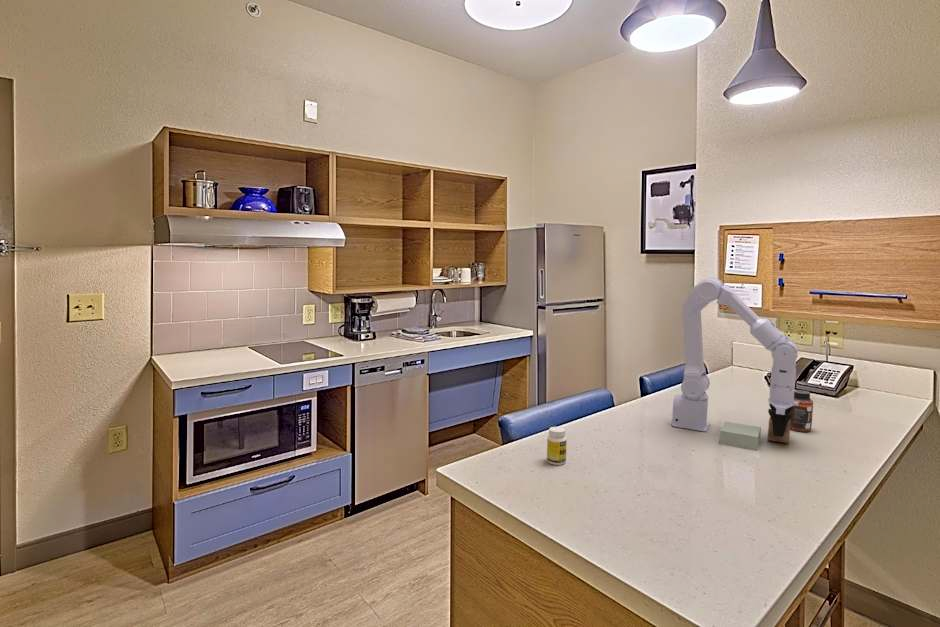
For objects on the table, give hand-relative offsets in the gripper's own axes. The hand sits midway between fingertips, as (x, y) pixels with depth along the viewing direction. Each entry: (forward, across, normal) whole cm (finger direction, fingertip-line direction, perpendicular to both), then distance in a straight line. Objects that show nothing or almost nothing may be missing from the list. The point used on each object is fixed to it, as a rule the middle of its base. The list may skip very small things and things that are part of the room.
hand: (778, 432), depth 146 cm
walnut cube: (+2, 0, 0) cm, 2 cm away
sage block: (+3, -6, +9) cm, 11 cm away
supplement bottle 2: (+2, +14, -5) cm, 15 cm away
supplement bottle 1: (+3, -44, +47) cm, 65 cm away
